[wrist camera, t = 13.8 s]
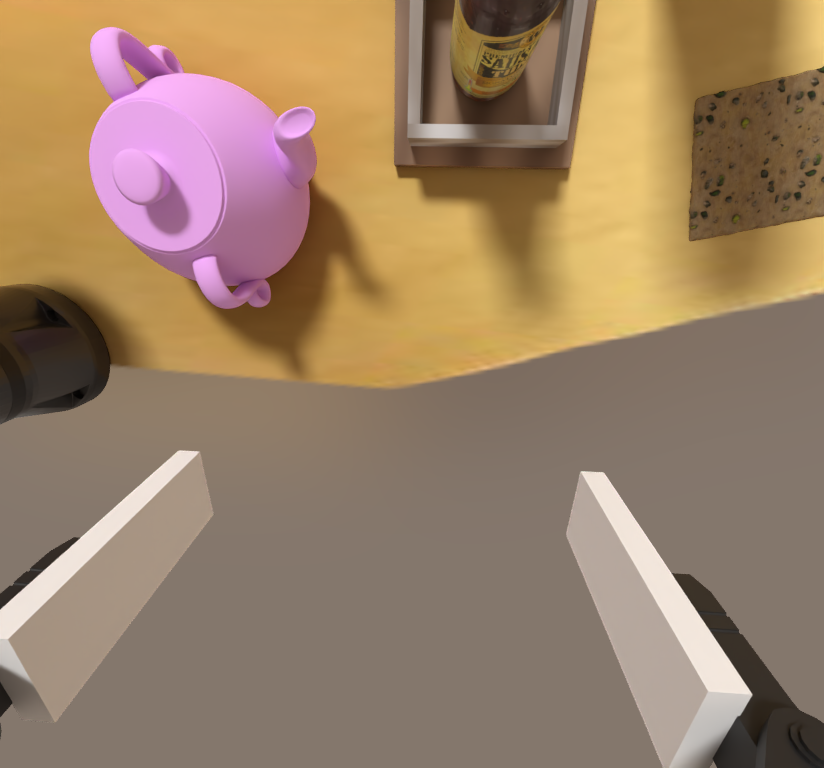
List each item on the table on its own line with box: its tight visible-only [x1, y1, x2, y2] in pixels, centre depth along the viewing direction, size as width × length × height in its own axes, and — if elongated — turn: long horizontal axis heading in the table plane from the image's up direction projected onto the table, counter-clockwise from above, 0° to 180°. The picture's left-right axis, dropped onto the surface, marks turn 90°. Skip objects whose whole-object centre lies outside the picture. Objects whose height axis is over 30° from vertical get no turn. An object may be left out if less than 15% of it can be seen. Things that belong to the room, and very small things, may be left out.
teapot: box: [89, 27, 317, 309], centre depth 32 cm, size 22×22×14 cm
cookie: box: [689, 67, 824, 241], centre depth 35 cm, size 12×12×1 cm
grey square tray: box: [394, 0, 596, 169], centre depth 32 cm, size 16×16×4 cm
